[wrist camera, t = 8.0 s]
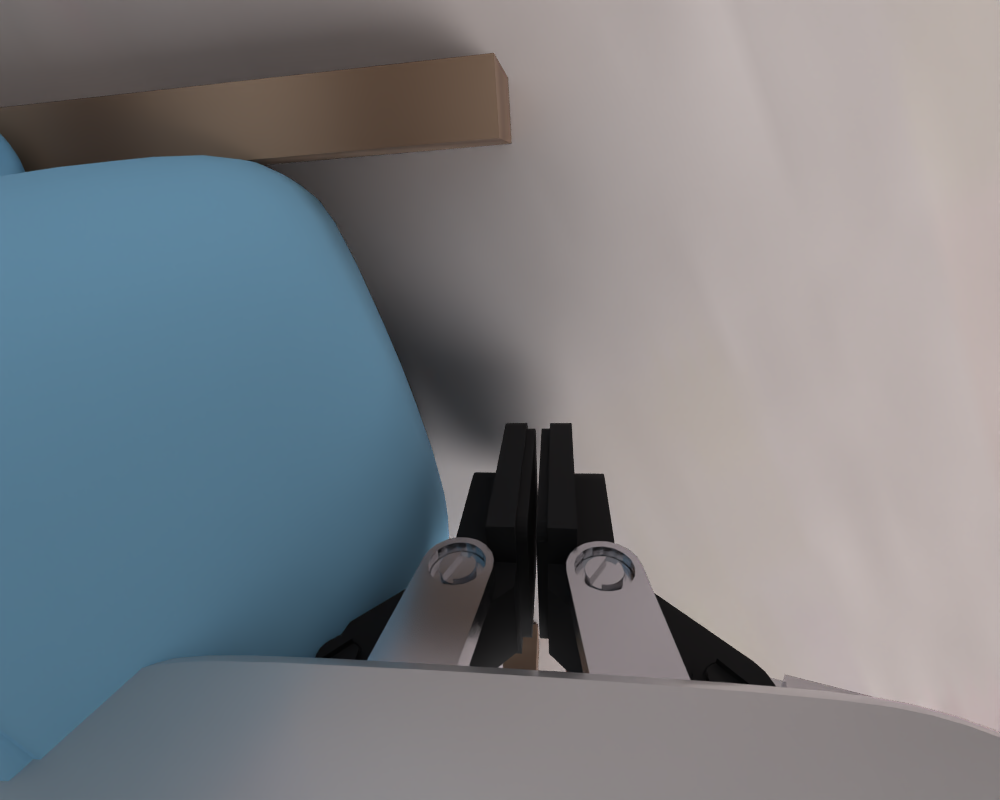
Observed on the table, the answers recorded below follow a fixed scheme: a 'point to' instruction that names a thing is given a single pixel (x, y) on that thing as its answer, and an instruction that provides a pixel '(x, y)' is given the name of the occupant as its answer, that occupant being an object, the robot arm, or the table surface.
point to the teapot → (188, 432)
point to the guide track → (281, 128)
